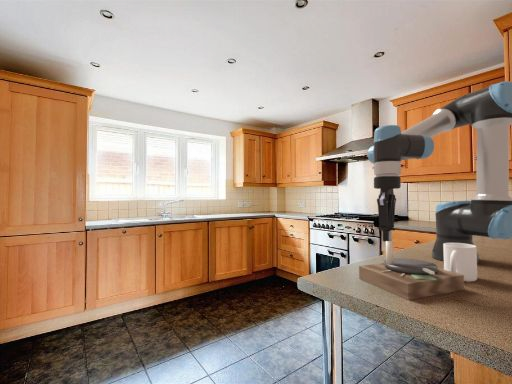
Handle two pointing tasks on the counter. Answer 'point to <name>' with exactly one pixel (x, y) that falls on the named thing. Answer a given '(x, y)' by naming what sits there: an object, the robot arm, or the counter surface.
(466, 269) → the mug
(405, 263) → the gray pegged oval disc
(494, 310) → the counter surface
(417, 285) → the board
